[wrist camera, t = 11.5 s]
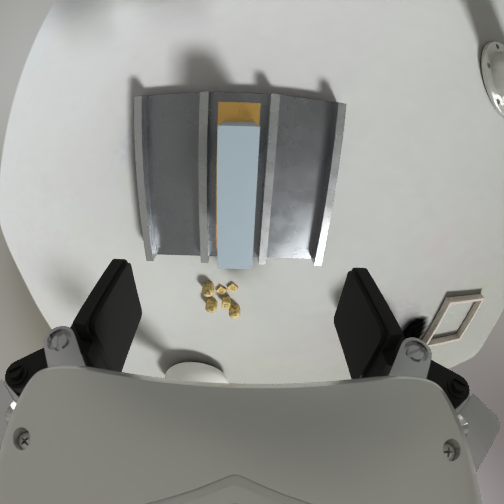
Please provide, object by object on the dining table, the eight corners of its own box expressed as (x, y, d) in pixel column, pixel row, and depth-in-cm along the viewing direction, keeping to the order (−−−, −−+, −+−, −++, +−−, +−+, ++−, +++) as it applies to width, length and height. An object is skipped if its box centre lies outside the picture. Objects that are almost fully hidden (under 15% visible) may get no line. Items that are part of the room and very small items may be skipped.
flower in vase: (211, 349, 41) (202, 503, 20) (239, 384, 47) (241, 509, 25) (147, 363, 43) (120, 491, 22) (180, 394, 49) (168, 506, 27)
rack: (337, 103, 24) (346, 103, 22) (315, 254, 33) (320, 265, 31) (142, 96, 23) (134, 96, 21) (152, 249, 32) (146, 260, 30)
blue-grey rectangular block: (255, 121, 24) (260, 126, 18) (249, 233, 30) (252, 269, 24) (223, 121, 24) (217, 125, 18) (222, 232, 30) (217, 268, 24)
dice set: (239, 309, 38) (239, 318, 36) (203, 306, 37) (201, 315, 36) (243, 280, 35) (243, 289, 34) (203, 277, 35) (201, 286, 33)
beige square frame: (480, 293, 39) (484, 298, 38) (456, 335, 45) (459, 340, 44) (445, 297, 39) (449, 302, 37) (420, 342, 45) (423, 348, 43)
